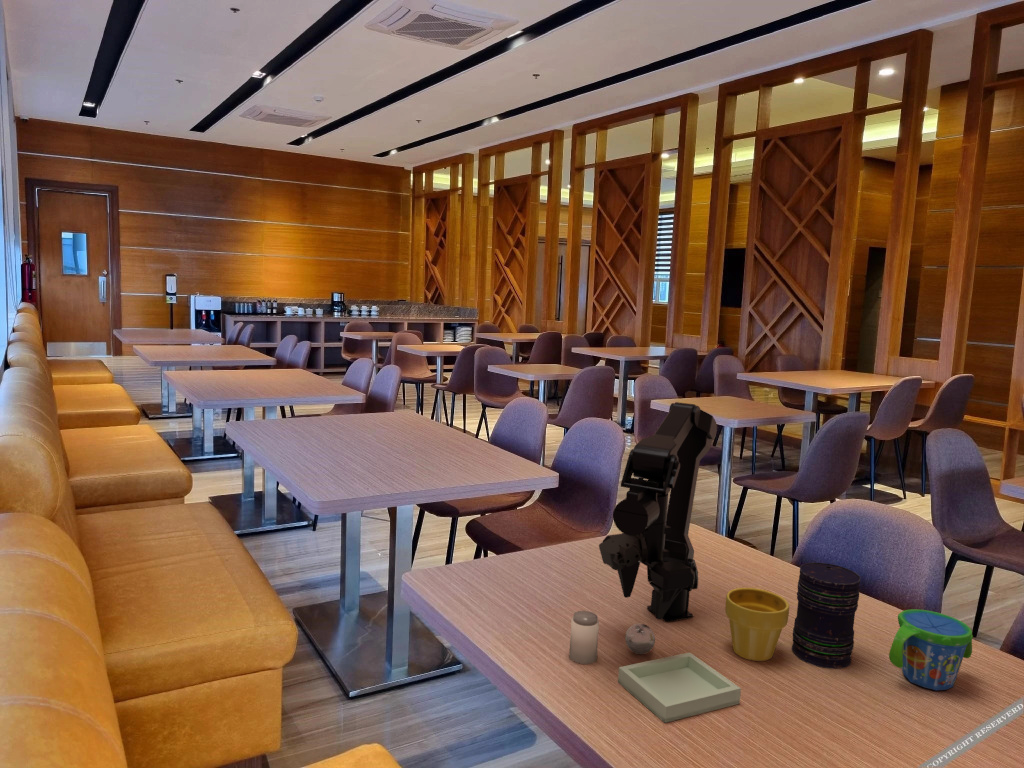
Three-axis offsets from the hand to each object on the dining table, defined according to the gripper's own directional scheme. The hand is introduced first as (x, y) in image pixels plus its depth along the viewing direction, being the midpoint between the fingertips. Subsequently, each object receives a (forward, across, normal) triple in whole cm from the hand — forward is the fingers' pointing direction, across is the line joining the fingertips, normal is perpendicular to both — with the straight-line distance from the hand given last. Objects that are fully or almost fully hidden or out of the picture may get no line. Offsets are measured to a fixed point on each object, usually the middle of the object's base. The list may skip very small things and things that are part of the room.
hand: (642, 607), depth 128 cm
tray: (+8, +13, -2) cm, 15 cm away
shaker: (+8, -2, -10) cm, 13 cm away
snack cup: (+8, +25, +40) cm, 48 cm away
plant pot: (+8, +7, +19) cm, 22 cm away
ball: (+8, 0, 0) cm, 8 cm away
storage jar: (+8, +12, +30) cm, 33 cm away
